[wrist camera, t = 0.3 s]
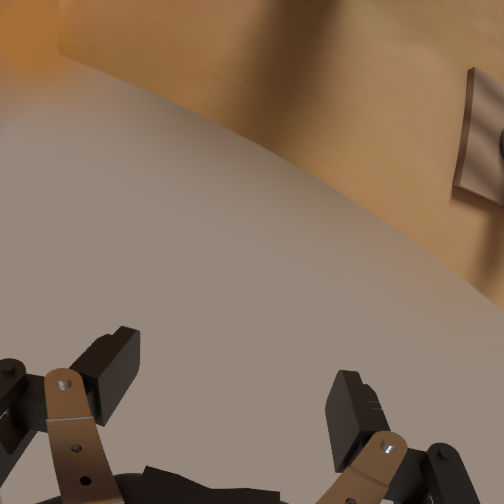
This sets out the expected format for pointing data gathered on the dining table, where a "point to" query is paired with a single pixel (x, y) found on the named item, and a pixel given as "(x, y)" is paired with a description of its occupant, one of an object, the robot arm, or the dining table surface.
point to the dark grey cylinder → (502, 143)
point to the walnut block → (482, 139)
